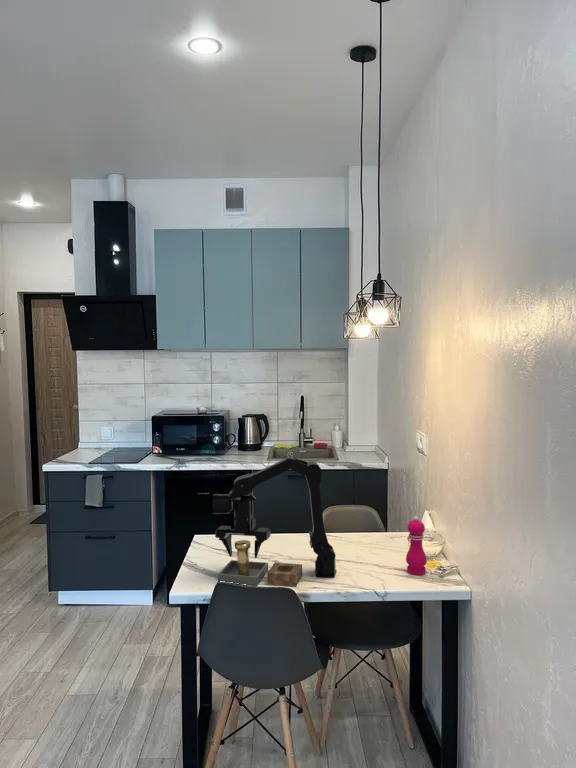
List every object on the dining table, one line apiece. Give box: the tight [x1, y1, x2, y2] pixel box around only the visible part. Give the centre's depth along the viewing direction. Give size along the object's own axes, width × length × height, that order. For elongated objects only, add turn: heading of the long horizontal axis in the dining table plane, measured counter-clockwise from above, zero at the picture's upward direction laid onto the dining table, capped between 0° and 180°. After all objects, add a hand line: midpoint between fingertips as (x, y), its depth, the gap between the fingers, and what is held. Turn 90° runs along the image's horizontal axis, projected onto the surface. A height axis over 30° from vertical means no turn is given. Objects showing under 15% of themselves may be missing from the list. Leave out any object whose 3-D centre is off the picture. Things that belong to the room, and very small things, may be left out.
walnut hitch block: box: [266, 562, 303, 588], centre depth 190 cm, size 10×10×4 cm
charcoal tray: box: [217, 559, 269, 587], centre depth 194 cm, size 14×14×3 cm
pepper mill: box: [405, 515, 428, 576], centre depth 195 cm, size 7×7×20 cm
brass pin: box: [234, 539, 252, 576], centre depth 193 cm, size 6×6×12 cm
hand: (243, 557), depth 193 cm, fingers open, 9 cm apart
